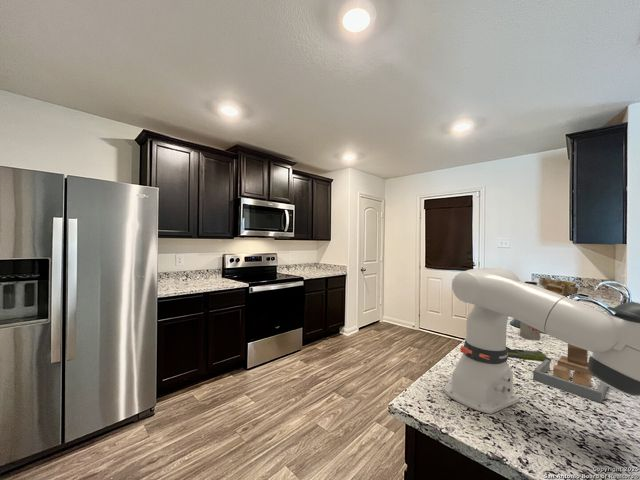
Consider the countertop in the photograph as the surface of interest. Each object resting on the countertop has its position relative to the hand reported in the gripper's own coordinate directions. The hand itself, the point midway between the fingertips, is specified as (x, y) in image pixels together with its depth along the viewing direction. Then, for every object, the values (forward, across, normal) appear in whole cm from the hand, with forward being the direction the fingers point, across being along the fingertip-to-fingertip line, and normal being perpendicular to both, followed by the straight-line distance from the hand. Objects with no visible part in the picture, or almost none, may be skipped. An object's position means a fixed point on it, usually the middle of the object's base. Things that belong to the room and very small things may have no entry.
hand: (607, 352), depth 95 cm
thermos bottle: (+29, +25, -8) cm, 39 cm away
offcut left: (+10, -14, -9) cm, 19 cm away
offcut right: (+5, -14, -9) cm, 17 cm away
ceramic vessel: (+38, +136, -8) cm, 141 cm away
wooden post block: (+8, 0, -8) cm, 12 cm away
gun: (+27, -3, -9) cm, 28 cm away
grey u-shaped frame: (+7, -17, -8) cm, 20 cm away
